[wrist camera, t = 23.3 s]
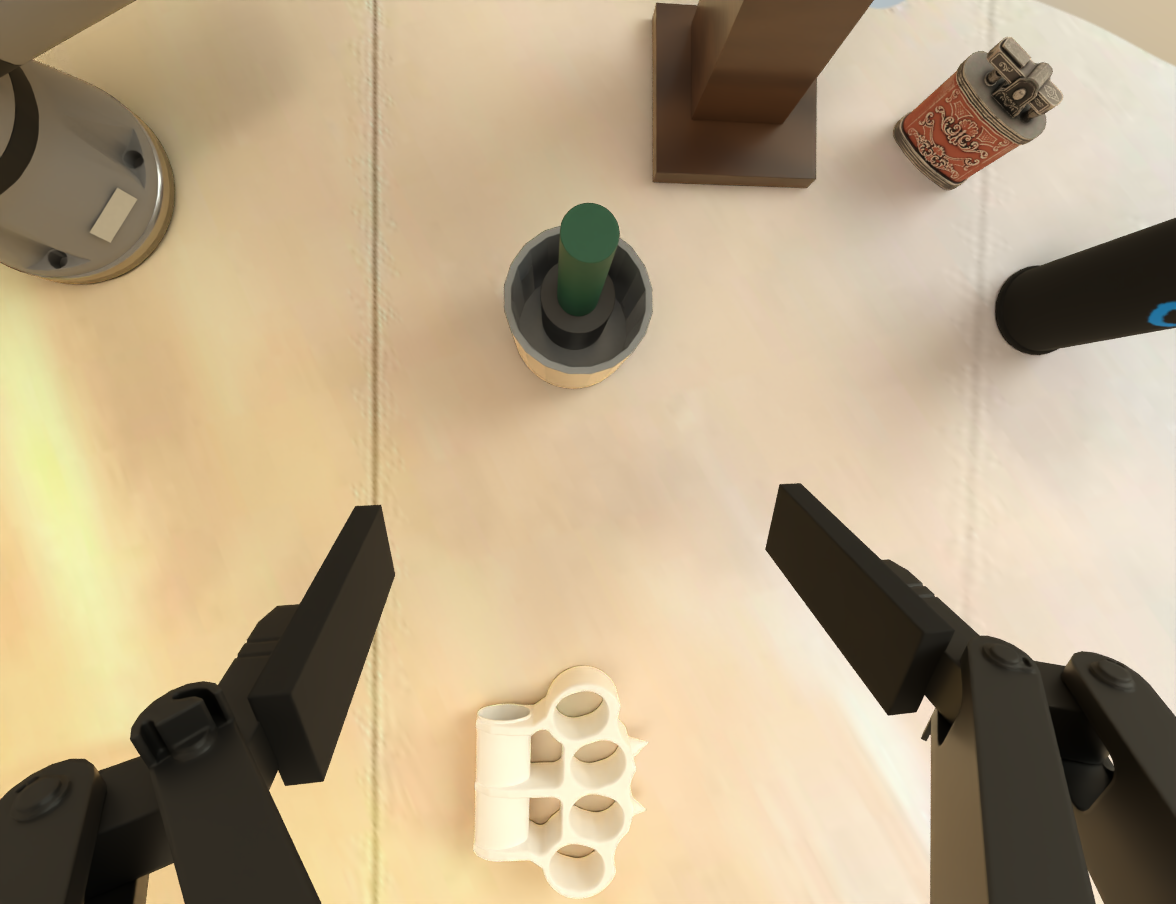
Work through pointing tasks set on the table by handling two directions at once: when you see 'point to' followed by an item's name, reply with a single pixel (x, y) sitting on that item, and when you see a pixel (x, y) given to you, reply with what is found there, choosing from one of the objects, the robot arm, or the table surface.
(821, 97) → the table surface
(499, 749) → the knuckle duster
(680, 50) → the stand
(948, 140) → the lighter
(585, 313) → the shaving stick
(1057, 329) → the aerosol can
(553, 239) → the steel cup
